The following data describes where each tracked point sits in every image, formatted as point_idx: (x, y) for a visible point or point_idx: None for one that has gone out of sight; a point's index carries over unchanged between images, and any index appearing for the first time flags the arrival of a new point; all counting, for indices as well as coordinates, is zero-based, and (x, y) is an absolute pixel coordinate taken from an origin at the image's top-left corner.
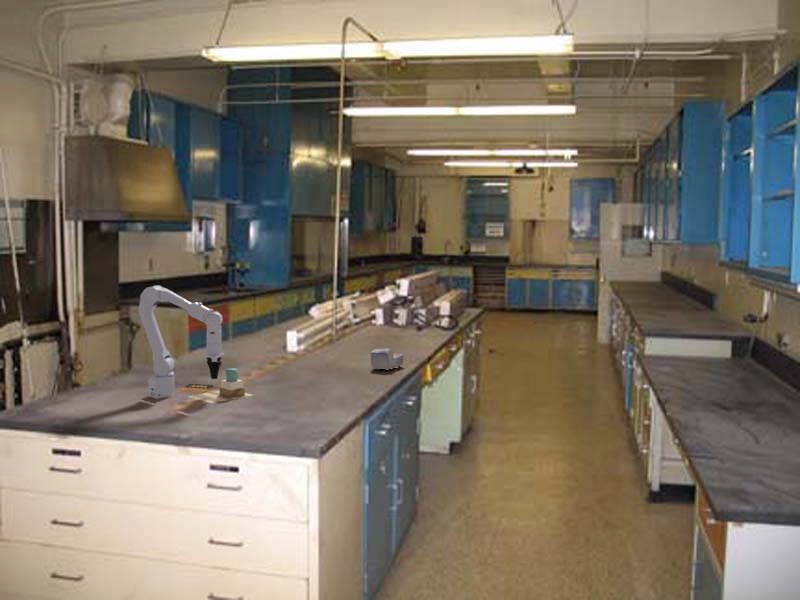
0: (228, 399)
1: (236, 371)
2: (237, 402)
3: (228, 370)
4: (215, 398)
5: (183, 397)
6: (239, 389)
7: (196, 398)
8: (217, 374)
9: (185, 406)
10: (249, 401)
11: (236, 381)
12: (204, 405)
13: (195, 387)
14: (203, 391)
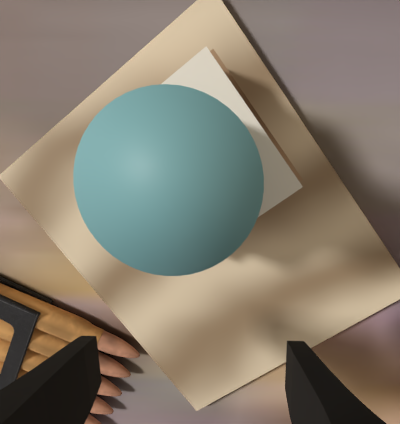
0: (329, 186)
1: (231, 114)
2: (365, 123)
3: (239, 245)
4: (279, 267)
5: (168, 417)
6: (246, 99)
7: (258, 370)
8: (330, 372)
9: (392, 416)
10: (353, 31)
11: (246, 122)
12: (396, 325)
13: (16, 377)
14: (92, 332)
